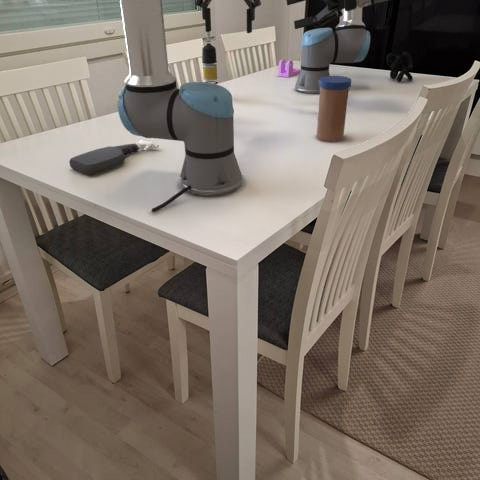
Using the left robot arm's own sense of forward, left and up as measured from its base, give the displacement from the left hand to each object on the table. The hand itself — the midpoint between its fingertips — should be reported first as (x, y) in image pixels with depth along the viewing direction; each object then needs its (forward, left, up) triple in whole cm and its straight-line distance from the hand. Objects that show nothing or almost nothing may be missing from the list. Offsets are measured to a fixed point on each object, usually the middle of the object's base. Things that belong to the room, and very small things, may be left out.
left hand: (228, 32), depth 139 cm
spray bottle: (-43, +18, -28) cm, 54 cm away
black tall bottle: (+25, +18, -28) cm, 42 cm away
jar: (-7, -35, -28) cm, 46 cm away
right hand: (+21, -14, +4) cm, 25 cm away
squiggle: (+78, -52, -28) cm, 98 cm away
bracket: (+78, -1, -28) cm, 83 cm away
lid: (-7, -35, -11) cm, 38 cm away
